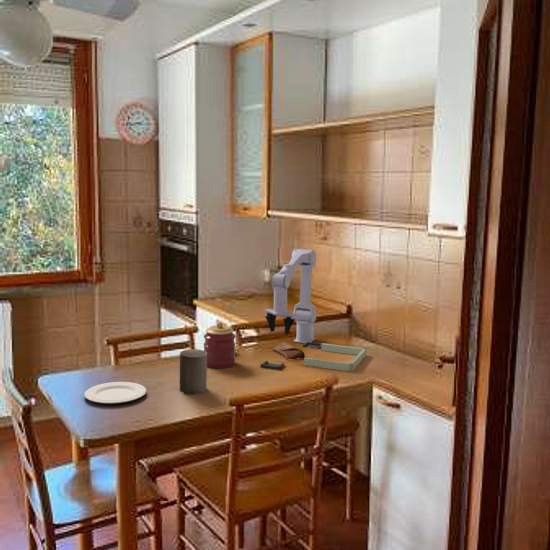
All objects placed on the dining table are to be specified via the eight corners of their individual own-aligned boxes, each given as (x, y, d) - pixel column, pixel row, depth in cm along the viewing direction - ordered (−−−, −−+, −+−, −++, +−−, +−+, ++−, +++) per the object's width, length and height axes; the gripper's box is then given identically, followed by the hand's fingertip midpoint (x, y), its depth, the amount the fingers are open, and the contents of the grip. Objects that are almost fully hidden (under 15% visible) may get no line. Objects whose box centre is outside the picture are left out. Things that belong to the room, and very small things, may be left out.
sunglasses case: (268, 349, 271) (275, 336, 272) (280, 355, 275) (287, 342, 275) (287, 360, 256) (295, 346, 256) (300, 366, 259) (307, 353, 260)
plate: (75, 393, 212) (75, 388, 212) (131, 382, 225) (131, 377, 224) (98, 412, 196) (97, 407, 196) (156, 399, 208) (156, 394, 208)
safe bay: (321, 349, 273) (322, 343, 273) (366, 355, 266) (366, 348, 265) (303, 365, 250) (304, 358, 249) (351, 371, 243) (352, 364, 242)
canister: (215, 371, 240) (215, 327, 237) (197, 363, 249) (197, 321, 247) (241, 365, 248) (242, 322, 245) (223, 357, 258) (223, 316, 255)
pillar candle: (176, 393, 214) (177, 352, 212) (182, 384, 224) (183, 344, 221) (204, 395, 214) (204, 353, 211) (208, 385, 223) (209, 346, 221)
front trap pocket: (266, 363, 251) (266, 360, 251) (284, 365, 248) (284, 363, 248) (260, 367, 246) (260, 364, 245) (279, 370, 243) (279, 367, 243)
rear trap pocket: (306, 344, 281) (306, 341, 281) (323, 346, 278) (323, 343, 278) (303, 347, 277) (303, 344, 276) (319, 349, 274) (320, 346, 274)
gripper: (261, 300, 260) (260, 331, 262) (289, 305, 252) (288, 337, 254) (270, 298, 266) (270, 328, 268) (298, 302, 257) (297, 334, 260)
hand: (279, 332), depth 261 cm, fingers open, 7 cm apart
